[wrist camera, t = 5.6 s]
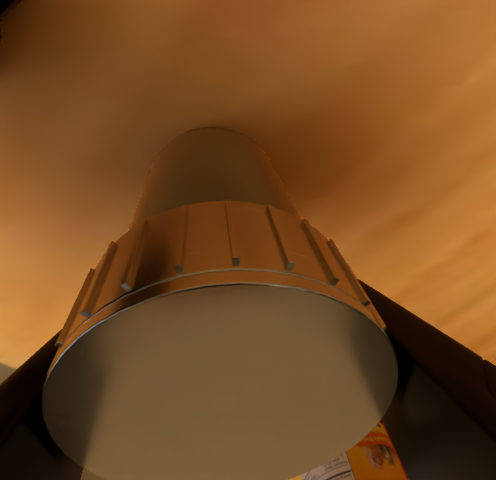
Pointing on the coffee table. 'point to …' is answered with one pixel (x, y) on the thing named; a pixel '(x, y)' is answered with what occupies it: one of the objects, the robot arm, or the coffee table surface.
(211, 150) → the jar
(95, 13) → the coffee table surface
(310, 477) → the supplement bottle
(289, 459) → the lid
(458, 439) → the robot arm
